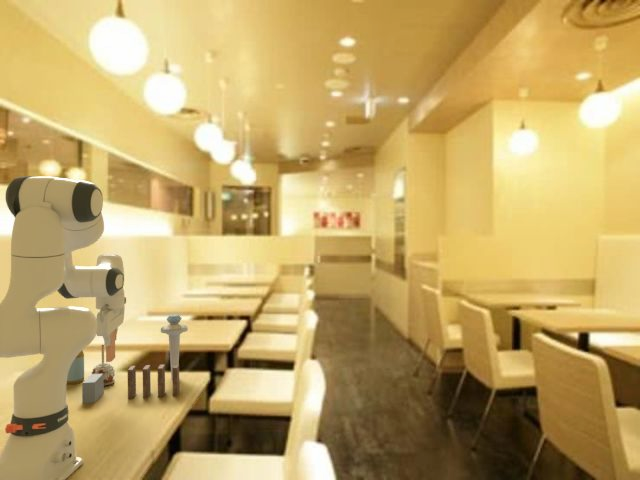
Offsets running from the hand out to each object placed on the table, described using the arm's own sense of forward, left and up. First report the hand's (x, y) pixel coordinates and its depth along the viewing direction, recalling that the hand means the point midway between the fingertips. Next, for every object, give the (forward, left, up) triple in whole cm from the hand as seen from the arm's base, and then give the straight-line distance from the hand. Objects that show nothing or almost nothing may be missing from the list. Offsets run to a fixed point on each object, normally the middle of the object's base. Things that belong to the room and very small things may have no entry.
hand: (110, 343), depth 162 cm
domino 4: (+6, -15, -20) cm, 26 cm away
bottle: (+27, +21, -20) cm, 39 cm away
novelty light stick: (+24, -17, -20) cm, 36 cm away
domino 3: (+6, -10, -20) cm, 23 cm away
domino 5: (+6, -20, -20) cm, 29 cm away
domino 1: (0, 0, -6) cm, 6 cm away
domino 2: (+6, -5, -20) cm, 22 cm away
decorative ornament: (+22, +9, -21) cm, 31 cm away
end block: (+6, +7, -20) cm, 22 cm away
